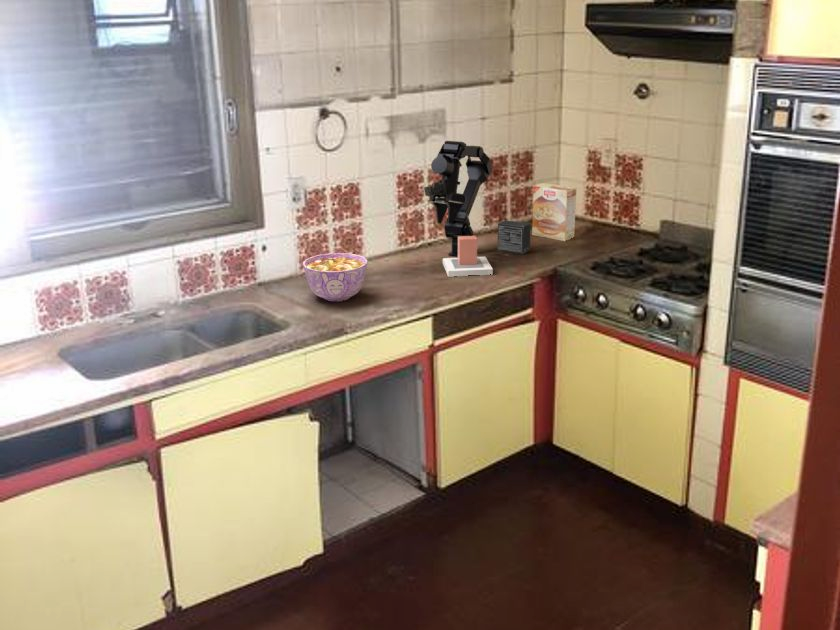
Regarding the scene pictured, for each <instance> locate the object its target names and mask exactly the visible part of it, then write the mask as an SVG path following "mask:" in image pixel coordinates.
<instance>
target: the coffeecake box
mask: <svg viewBox="0 0 840 630" xmlns="http://www.w3.org/2000/svg"><path fill="white" fill-rule="evenodd" d="M532 198H533V202H532V228H531V230H532V231H531V232H532V233H531V235H532V236H537V237H542V238H545V237H546V238H547V239H552V240H557V241H561V242H566V240H567V241H569V240H571V238H572V239H573V237H574V238H575V231H576V230H575V228H576V227H575V226H576V224H575V223H576V205H577V187H573V186H566V185H562V184H561V185H560V184H555V183H554V184H553V183H547V182H541V183H537V184H534V185H533V196H532Z"/></svg>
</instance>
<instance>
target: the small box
mask: <svg viewBox="0 0 840 630" xmlns="http://www.w3.org/2000/svg"><path fill="white" fill-rule="evenodd" d="M497 250H498V251H497V252H501V251H503V252H504V253H507V254H508V253H509V254H515V255H521V256H522V255H524V254H526V253H528V252H530V251H531V222H522V221H514V220H506V219H505V220H503V221H500V222H498V223H497Z"/></svg>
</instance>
